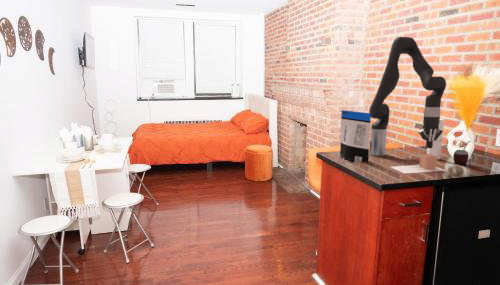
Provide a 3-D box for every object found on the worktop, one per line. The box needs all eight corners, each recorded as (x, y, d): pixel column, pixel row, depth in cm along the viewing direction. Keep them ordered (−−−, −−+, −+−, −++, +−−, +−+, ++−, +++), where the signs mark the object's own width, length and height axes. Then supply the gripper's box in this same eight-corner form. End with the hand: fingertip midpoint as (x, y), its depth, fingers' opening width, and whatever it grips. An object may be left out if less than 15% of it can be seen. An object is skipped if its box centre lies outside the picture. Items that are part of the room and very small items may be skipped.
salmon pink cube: (426, 169, 171) (427, 156, 170) (419, 166, 176) (420, 154, 175) (435, 168, 172) (437, 156, 170) (428, 166, 177) (429, 153, 176)
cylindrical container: (425, 160, 195) (428, 119, 190) (428, 158, 200) (431, 118, 195) (438, 162, 190) (442, 120, 185) (441, 159, 195) (445, 118, 190)
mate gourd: (453, 162, 190) (456, 137, 187) (469, 164, 185) (472, 138, 182) (451, 165, 184) (454, 139, 181) (468, 167, 179) (471, 140, 176)
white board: (403, 176, 165) (403, 173, 165) (389, 169, 178) (389, 166, 178) (445, 173, 169) (446, 170, 169) (428, 166, 181) (429, 164, 181)
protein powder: (362, 165, 186) (364, 114, 181) (334, 157, 208) (335, 110, 202) (374, 163, 190) (377, 112, 184) (345, 155, 212) (347, 109, 206)
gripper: (438, 114, 173) (435, 146, 176) (415, 115, 171) (413, 147, 175) (448, 115, 166) (445, 148, 169) (425, 116, 164) (422, 150, 167)
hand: (429, 147), depth 172 cm, fingers closed
